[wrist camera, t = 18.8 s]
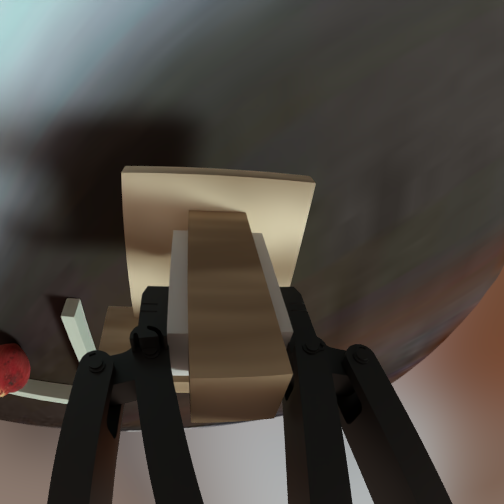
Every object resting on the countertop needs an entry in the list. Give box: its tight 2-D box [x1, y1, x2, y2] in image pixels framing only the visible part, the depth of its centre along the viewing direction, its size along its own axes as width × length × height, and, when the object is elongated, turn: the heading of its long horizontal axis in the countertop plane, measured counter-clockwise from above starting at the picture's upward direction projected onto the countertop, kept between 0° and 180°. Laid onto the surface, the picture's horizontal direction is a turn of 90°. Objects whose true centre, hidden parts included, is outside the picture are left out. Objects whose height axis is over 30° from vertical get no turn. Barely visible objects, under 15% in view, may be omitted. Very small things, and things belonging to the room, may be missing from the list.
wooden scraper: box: [99, 166, 316, 423], centre depth 15 cm, size 11×14×11 cm
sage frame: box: [9, 298, 96, 404], centre depth 31 cm, size 20×23×2 cm
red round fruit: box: [0, 343, 31, 397], centre depth 29 cm, size 6×6×8 cm
